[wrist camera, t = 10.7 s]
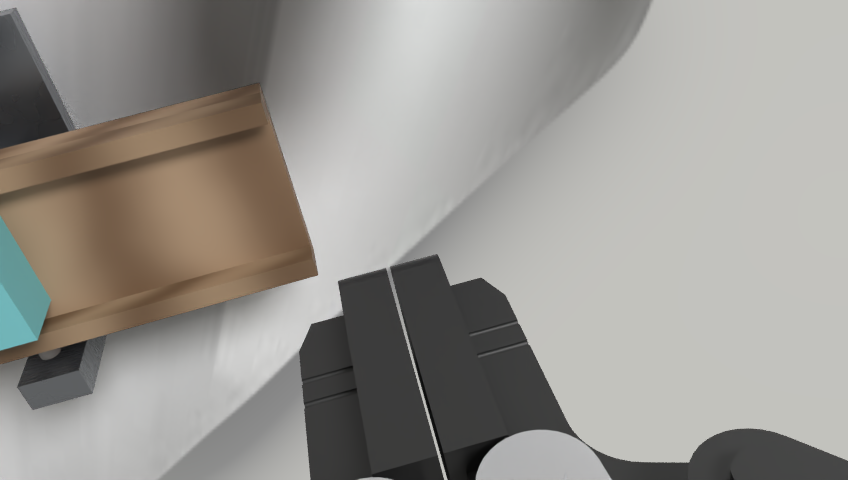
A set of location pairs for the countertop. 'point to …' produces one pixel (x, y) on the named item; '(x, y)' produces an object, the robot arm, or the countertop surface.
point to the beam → (153, 216)
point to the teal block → (19, 295)
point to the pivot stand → (19, 123)
